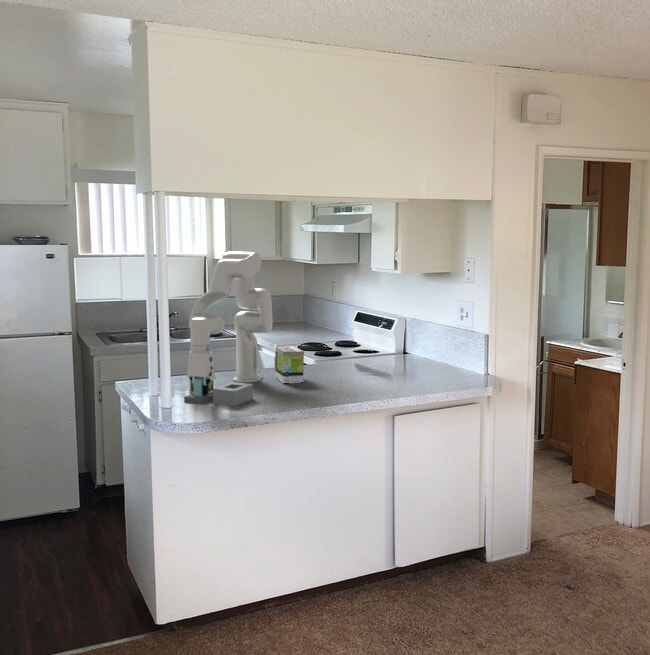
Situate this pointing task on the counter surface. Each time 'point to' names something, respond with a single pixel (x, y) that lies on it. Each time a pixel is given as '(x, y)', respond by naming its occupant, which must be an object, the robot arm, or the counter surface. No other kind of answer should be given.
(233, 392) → the port
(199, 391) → the plug
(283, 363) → the tea box
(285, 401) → the counter surface
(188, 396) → the holster
